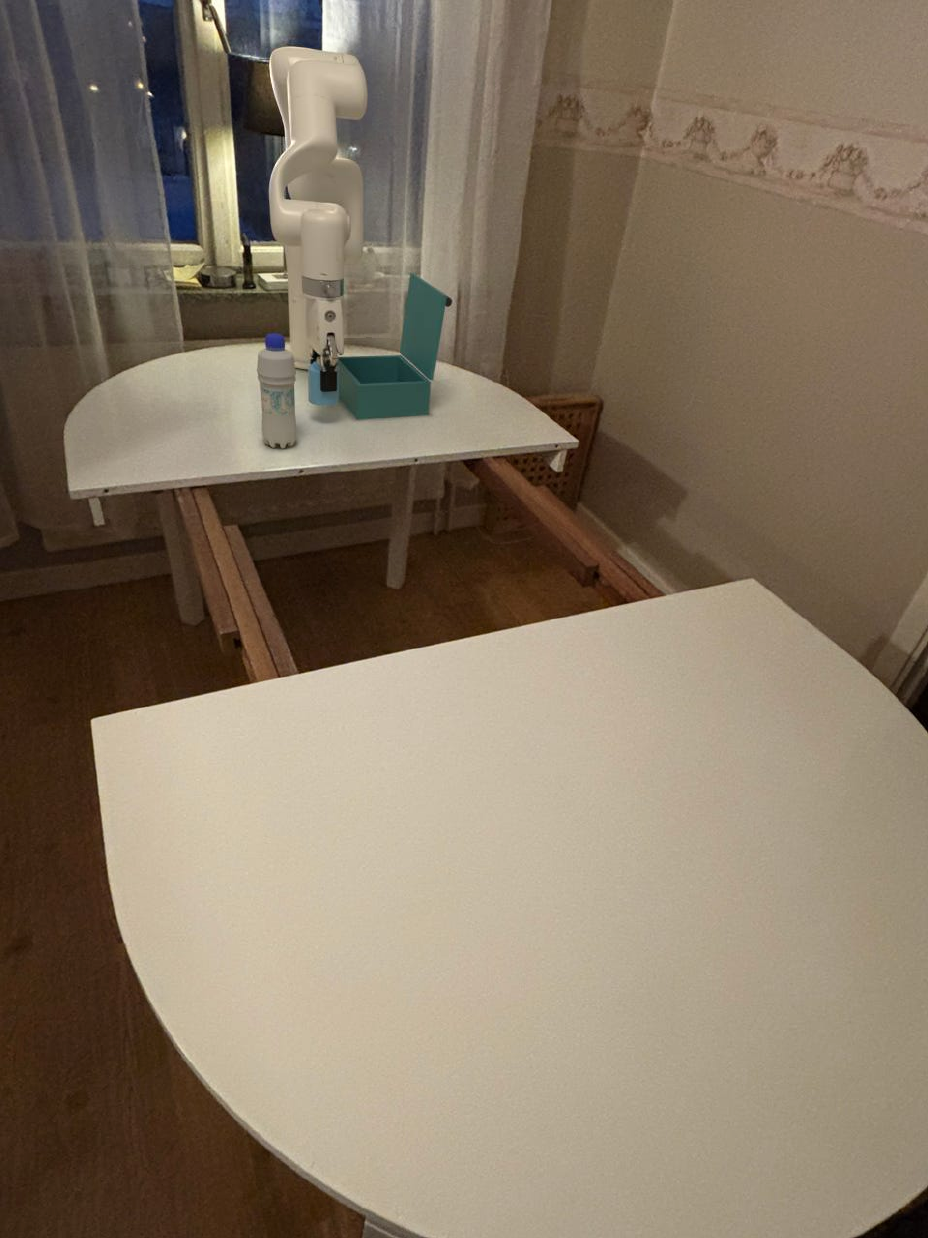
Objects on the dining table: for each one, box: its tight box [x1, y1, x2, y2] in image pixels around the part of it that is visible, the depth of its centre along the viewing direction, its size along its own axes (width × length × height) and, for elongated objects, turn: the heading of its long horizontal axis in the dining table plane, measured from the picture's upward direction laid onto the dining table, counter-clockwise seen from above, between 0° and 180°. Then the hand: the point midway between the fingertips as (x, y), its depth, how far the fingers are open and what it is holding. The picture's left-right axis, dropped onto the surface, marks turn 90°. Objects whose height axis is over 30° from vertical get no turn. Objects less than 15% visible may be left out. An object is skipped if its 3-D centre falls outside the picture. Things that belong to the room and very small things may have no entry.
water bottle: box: [307, 357, 340, 407], centre depth 144 cm, size 6×6×8 cm
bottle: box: [256, 332, 297, 449], centre depth 133 cm, size 7×7×20 cm
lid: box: [399, 272, 453, 381], centre depth 156 cm, size 17×18×5 cm
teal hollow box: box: [337, 354, 432, 420], centre depth 159 cm, size 16×18×7 cm
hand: (323, 384), depth 145 cm, fingers closed on water bottle, 6 cm apart
